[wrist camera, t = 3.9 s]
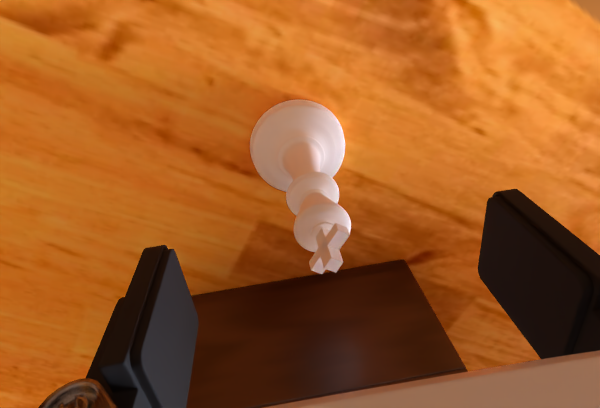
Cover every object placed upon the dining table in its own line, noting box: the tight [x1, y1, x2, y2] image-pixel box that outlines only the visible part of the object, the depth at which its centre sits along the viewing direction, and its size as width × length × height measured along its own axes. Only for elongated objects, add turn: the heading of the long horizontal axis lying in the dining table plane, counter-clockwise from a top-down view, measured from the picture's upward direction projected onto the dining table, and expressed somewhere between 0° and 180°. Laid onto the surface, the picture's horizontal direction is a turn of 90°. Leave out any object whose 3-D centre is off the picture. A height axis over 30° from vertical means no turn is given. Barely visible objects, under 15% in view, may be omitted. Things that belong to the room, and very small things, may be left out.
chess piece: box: [250, 99, 351, 274], centre depth 16 cm, size 5×5×10 cm
